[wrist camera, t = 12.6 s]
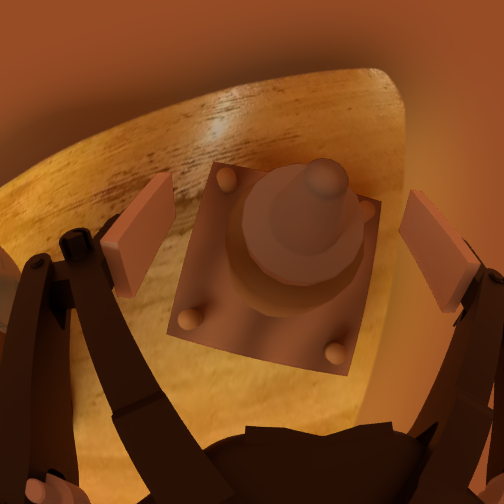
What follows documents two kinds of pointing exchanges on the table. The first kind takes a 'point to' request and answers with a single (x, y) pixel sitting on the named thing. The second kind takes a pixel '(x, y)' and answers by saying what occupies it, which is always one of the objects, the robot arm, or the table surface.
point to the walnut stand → (248, 319)
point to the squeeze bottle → (295, 238)
